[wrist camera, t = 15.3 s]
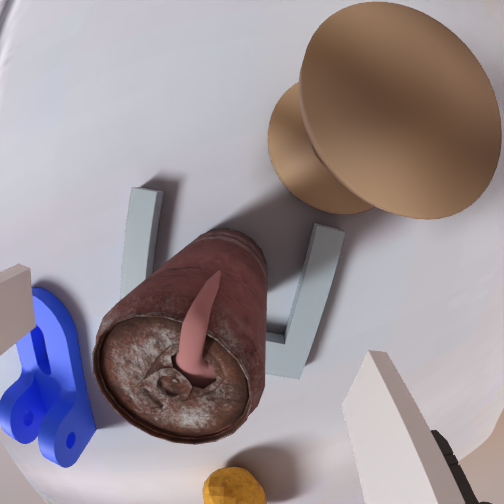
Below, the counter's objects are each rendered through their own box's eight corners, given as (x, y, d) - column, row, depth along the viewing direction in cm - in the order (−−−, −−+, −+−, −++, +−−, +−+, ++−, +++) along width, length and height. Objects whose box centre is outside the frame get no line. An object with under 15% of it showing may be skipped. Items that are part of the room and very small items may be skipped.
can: (277, 236, 21) (294, 331, 8) (254, 316, 23) (238, 466, 9) (195, 214, 21) (82, 268, 7) (178, 294, 23) (88, 417, 9)
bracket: (96, 428, 28) (66, 478, 19) (45, 405, 28) (11, 446, 19) (74, 297, 24) (12, 340, 15) (17, 279, 24) (-42, 309, 15)
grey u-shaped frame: (139, 187, 21) (131, 187, 19) (340, 229, 21) (345, 232, 19) (126, 328, 24) (119, 336, 22) (298, 368, 24) (299, 379, 22)
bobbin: (283, 64, 18) (296, -44, 6) (409, 103, 18) (513, 53, 6) (254, 194, 21) (236, 209, 9) (386, 226, 21) (492, 274, 9)
